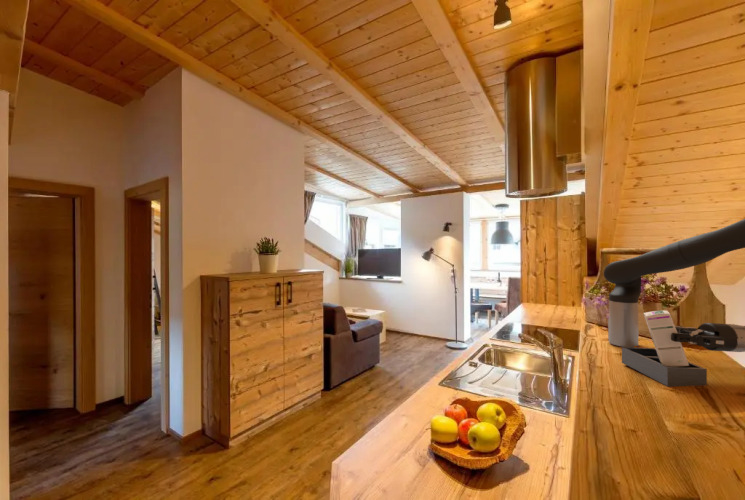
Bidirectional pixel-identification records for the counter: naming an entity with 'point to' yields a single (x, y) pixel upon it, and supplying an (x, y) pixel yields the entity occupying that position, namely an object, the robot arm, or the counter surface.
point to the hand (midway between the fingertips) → (661, 333)
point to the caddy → (663, 368)
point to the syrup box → (665, 338)
